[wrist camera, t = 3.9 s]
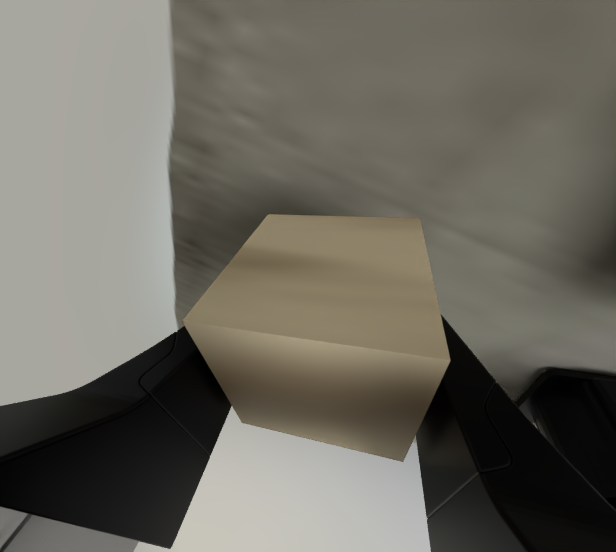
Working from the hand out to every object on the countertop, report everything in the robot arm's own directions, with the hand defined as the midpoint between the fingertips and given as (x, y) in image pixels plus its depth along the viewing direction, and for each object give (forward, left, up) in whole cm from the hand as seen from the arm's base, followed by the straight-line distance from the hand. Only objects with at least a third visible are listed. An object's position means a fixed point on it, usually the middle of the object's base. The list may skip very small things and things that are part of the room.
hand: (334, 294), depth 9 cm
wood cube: (0, 0, -1) cm, 1 cm away
